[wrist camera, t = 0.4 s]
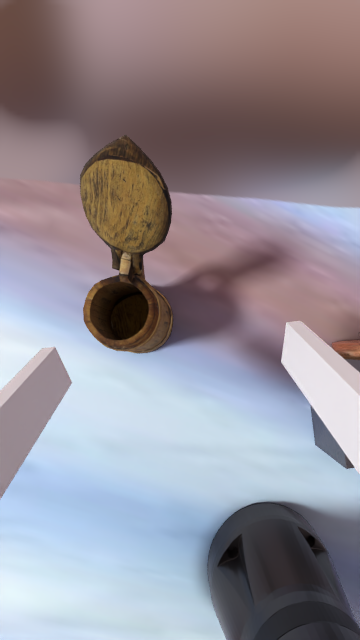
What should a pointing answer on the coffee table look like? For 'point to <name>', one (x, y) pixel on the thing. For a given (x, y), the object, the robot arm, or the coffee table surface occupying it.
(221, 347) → the coffee table surface
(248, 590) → the robot arm
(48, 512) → the coffee table surface
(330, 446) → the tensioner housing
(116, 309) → the wooden mug
